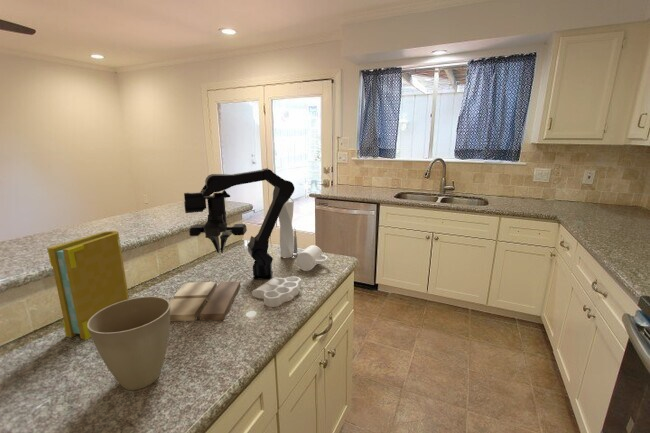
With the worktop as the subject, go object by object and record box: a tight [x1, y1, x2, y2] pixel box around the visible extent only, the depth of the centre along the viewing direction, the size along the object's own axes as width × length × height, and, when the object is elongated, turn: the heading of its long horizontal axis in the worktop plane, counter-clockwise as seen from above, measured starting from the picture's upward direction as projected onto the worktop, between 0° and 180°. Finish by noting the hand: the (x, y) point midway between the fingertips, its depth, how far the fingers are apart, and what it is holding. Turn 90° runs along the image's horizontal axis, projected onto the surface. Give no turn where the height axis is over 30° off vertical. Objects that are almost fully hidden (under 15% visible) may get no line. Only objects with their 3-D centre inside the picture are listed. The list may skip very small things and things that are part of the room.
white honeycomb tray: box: [251, 276, 303, 308], centre depth 108 cm, size 3×18×15 cm
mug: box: [295, 244, 329, 272], centre depth 131 cm, size 12×10×8 cm
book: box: [46, 230, 130, 341], centre depth 89 cm, size 17×7×25 cm, turn 168°
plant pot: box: [87, 295, 171, 391], centre depth 68 cm, size 15×15×16 cm
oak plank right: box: [173, 281, 218, 302], centre depth 108 cm, size 11×10×2 cm
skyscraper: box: [278, 197, 298, 258], centre depth 142 cm, size 8×8×28 cm
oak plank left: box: [168, 298, 207, 322], centre depth 97 cm, size 11×10×2 cm
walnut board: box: [197, 280, 241, 321], centre depth 103 cm, size 8×22×2 cm, turn 3°
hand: (220, 252), depth 114 cm, fingers closed
